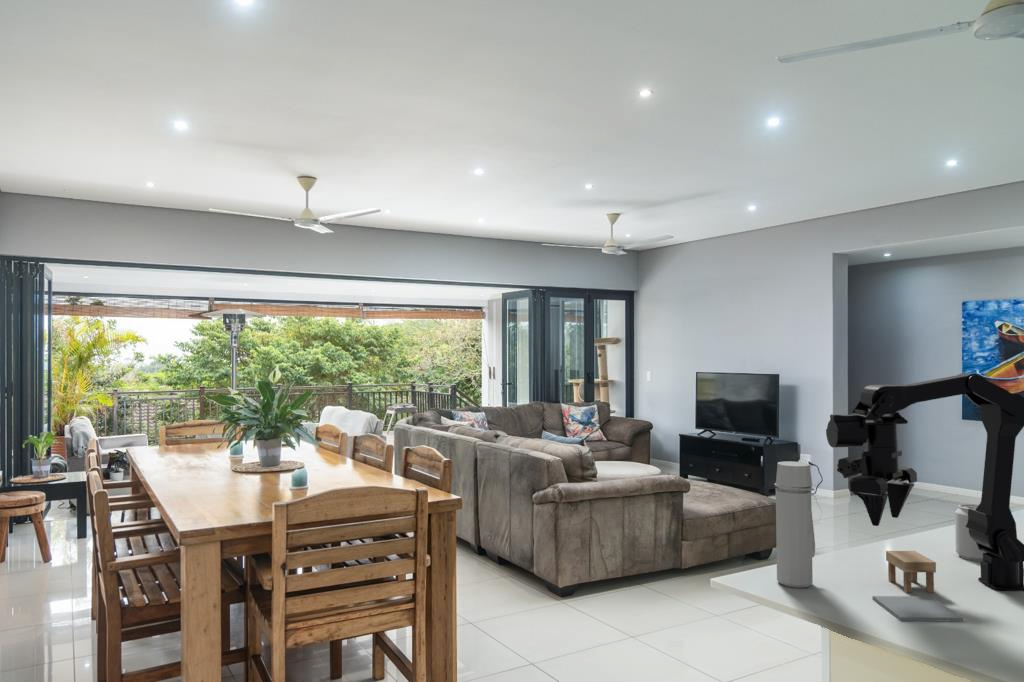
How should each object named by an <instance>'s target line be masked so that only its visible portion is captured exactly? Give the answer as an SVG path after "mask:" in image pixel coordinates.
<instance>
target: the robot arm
mask: <svg viewBox="0 0 1024 682" xmlns="http://www.w3.org/2000/svg"><path fill="white" fill-rule="evenodd" d="M960 395H965V396H966V398H967V399H968V400H969V401H970V402H971V403H972V404H974V405H975V406H977V407H979V409H980V419H981V422H982V425H983V427H984V429H985V431H986V442H985V443H986V444H985V445H986V447H985V455H984V466H983V476H982V477H983V479H982V488H981V498H980V499H981V501H980V503H979V504H978V505H979V506H978V507H977V508H976V510H973V509H968V522H967V525H966V528H969V535H970V536H971V537H972V539H973V540H974V541H975V542H976V544H977V546H978V549H979V550H982V551H985V552H986V553H983V561H980V577H978V579H977V580H978V582H979V581H980V582H981V583H983V584H985V585H986V586H989V587H990V588H992V589H994V590H998V591H1024V543H1023V542H1022V541H1021V540H1020V539H1019V538H1018V535H1017V533H1018V532H1017V523H1016V520H1015V517H1014V515H1013V513H1012V511H1011V508H1010V507H1011V506H1010V503H1011V494H1012V493H1011V492H1012V484H1013V483H1012V481H1013V472H1014V470H1013V469H1014V460H1015V451H1016V440H1017V439H1016V438H1017V436H1018V435H1019V434H1020V433H1021V431H1022V430H1023V429H1024V396H1022V395H1021V394H1018V393H1014V392H1010V391H1009V390H1007V389H1006V388H1003V387H1001V386H999V385H997V384H995V383H993V382H991V381H989V380H987V379H986V378H985V377H983V376H981V375H980V374H978V373H973V372H972V373H969V372H964V373H963V372H962V373H959V374H957V375H952V376H946V377H940V378H934V379H929V380H922V381H918V382H913V383H908V384H869V385H867V386H865V387H864V388H863V389H862V391H861V393H860V399H859V400H858V402H857V403H856V404H855V406H854V408H853V409H852V410H851V411H850V413H849V414H837V413H836V414H834V413H833V414H830V415H829V421H828V423H827V427H826V429H825V434H826V439H827V443H828V445H829V446H830V447H831V448H856V447H862V446H863V445H864V444H866V450H862V452H861V457H859V458H856V459H853V460H852V459H851V457H849V456H846V457H843V458H842V457H841V458H839V459H838V462H837V469H836V471H837V472H838V473H840V474H842V478H843V479H848V478H849V477H851V479H849V481H848V491H849V492H852V493H853V495H854V496H857V497H858V498H859V499H861V500H862V501H863V504H864V506H865V508H866V509H865V510H866V511H867V514H868V517H869V519H870V523H871V525H872V526H874V527H875V526H876V527H878V526H879V525H880V523H881V519H882V518H883V517H882V516H883V514H884V510H885V506H886V503H887V500H888V504H889V510H890V515H891V517H892V518H895V519H899V516H900V514H901V511H902V510H903V507H904V506H905V503H906V502H907V499H908V497H909V495H910V493H911V491H912V488H913V487H915V483H916V482H918V477H917V476H918V472H916V470H914V469H913V468H912V467H906V466H899V465H900V464H899V457H902V455H903V451H902V450H899V448H898V447H899V445H898V427H897V425H903V424H904V425H906V424H908V423H909V421H908V419H906V418H905V417H903V416H902V414H901V413H900V411H902V410H905V409H907V408H908V407H910V406H912V405H914V404H917V403H921V402H928V401H932V400H933V401H934V400H939V399H945V398H948V397H954V396H955V397H956V396H960ZM859 474H861V475H859ZM856 475H857V476H856Z"/></svg>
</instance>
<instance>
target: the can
mask: <svg viewBox="0 0 1024 682" xmlns="http://www.w3.org/2000/svg"><path fill="white" fill-rule="evenodd" d="M957 506H958V508H957V509H956V510H955V511H954V518H955V519H954V520H955V521H954V523H955V526H954V527H955V531H954V532H955V533H954V534H955V552H956V554H958V555H959V557H960V558H962V559H964V560H965V559H966V560H969V561H973V562H974V561H975V562H981V561H983V553H986V552H985V551H982V550H979V549H978V546H977V544H976V542H975V541H974V540H973V539H972V537H971V536H970V535H969V528H966V525H967V522H968V509H973V510H976V508H977V507H978V506H979V504H975V503H961V504H958V505H957Z"/></svg>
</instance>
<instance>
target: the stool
mask: <svg viewBox="0 0 1024 682" xmlns="http://www.w3.org/2000/svg"><path fill="white" fill-rule="evenodd" d="M885 561H887V563H888V564H887V565H888V566H887V568H888V582H890V583H896V581H897V579H896V577H897V576H896V575H897V573H896V572H897V571H896V567H897V569H899V570H901V571H902V573H903V592H904V591H905V592H904V593H906V592H910V593H909V594H912V583H916V582H917V583H918V573H925V592H926V593H928V592H929V593H928V594H935V582H934V581H935V575H934V573H937V562H935V561H934V560H933V559H930V558H929V557H927V556H925V555H923V554H921V553H920V552H918V551H916V550H885ZM911 581H912V582H911Z"/></svg>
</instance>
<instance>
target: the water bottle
mask: <svg viewBox="0 0 1024 682" xmlns="http://www.w3.org/2000/svg"><path fill="white" fill-rule="evenodd" d="M776 466H777V467H776V477H775V478H776V479H775V483H774V484H773V485H774V486H775V523H776V524H775V525H776V526H775V527H776V528H775V535H776V537H775V539H776V541H775V543H776V544H775V545H776V580H777V582H778V583H779V584H781V585H783V586H784V587H785V586H786V587H790V588H794V587H795V589H805V588H808V587H810V586H812V584H813V582H814V581H813V580H814V579H813V558H815V554H816V541H815V528H814V521H813V511H812V491H815V490H816V488H814V487H813V480H812V479H813V478H812V473H811V464H810V463H808V462H804V461H792V460H790V461H786V460H785V461H778V462H777V465H776Z"/></svg>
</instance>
